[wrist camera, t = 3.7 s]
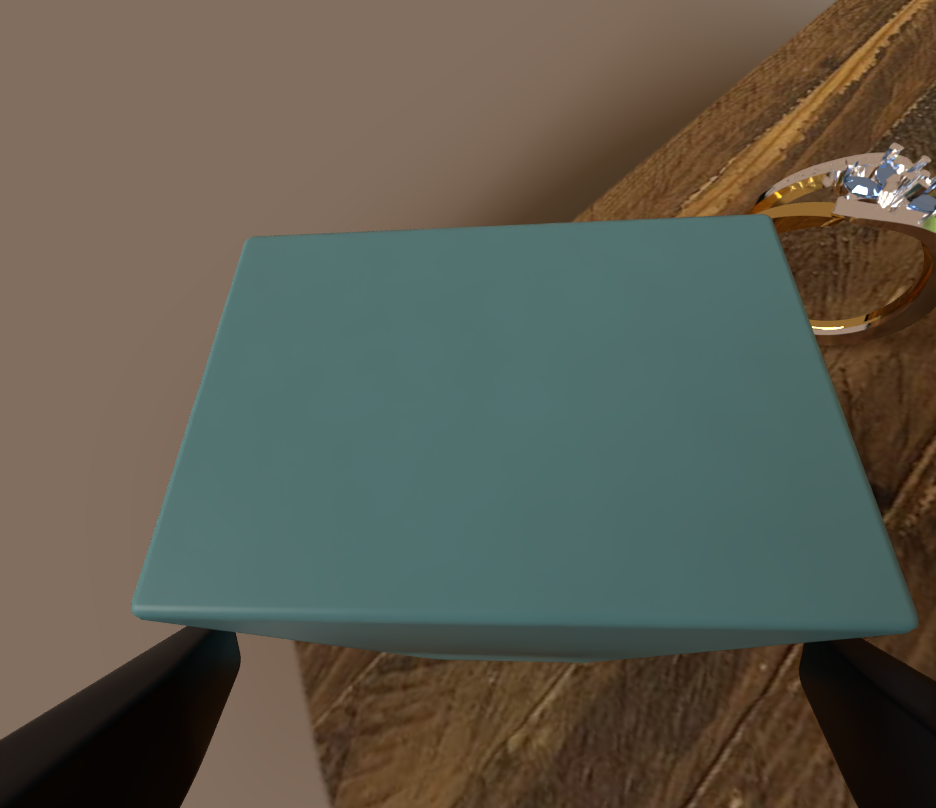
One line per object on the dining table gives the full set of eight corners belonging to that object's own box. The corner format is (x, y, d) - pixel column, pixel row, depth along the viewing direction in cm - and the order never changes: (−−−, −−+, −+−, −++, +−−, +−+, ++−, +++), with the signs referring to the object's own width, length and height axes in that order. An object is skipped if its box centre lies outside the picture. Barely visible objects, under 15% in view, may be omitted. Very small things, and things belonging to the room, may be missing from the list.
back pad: (587, 662, 16) (931, 633, 3) (433, 659, 16) (119, 618, 3) (578, 551, 18) (773, 208, 5) (438, 551, 18) (243, 233, 5)
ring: (872, 338, 21) (1056, 168, 14) (852, 396, 20) (1042, 244, 13) (706, 276, 23) (793, 102, 16) (680, 326, 22) (761, 162, 15)
